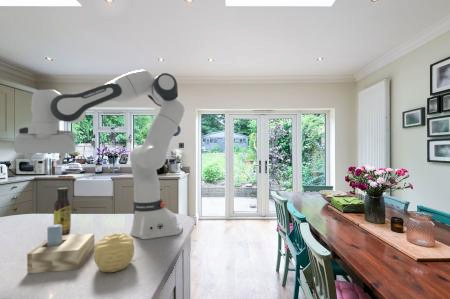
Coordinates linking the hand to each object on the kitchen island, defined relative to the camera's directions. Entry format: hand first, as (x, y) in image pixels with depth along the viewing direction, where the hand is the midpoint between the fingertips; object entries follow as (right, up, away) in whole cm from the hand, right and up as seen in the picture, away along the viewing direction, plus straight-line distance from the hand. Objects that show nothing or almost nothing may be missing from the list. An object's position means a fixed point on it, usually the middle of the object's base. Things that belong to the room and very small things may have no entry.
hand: (46, 164), depth 93 cm
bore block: (+17, -31, -15) cm, 39 cm away
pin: (+14, -30, -15) cm, 36 cm away
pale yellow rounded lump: (+36, -32, -19) cm, 52 cm away
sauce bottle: (-1, -31, +10) cm, 33 cm away
